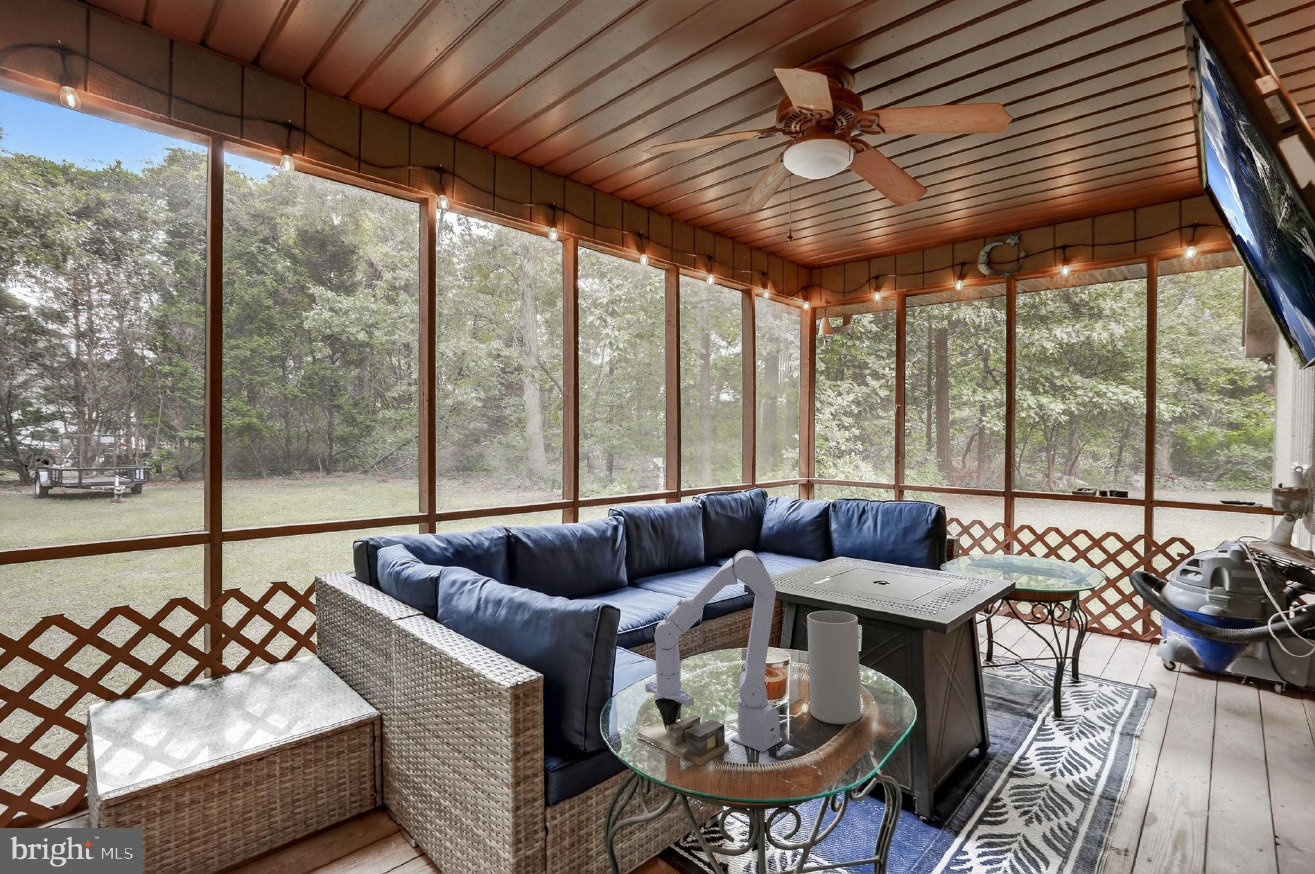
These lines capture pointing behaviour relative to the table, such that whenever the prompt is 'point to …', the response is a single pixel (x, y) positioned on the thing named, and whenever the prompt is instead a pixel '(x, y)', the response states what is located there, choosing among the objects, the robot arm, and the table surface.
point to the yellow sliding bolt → (710, 742)
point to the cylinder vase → (834, 666)
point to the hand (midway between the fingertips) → (669, 728)
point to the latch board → (688, 739)
